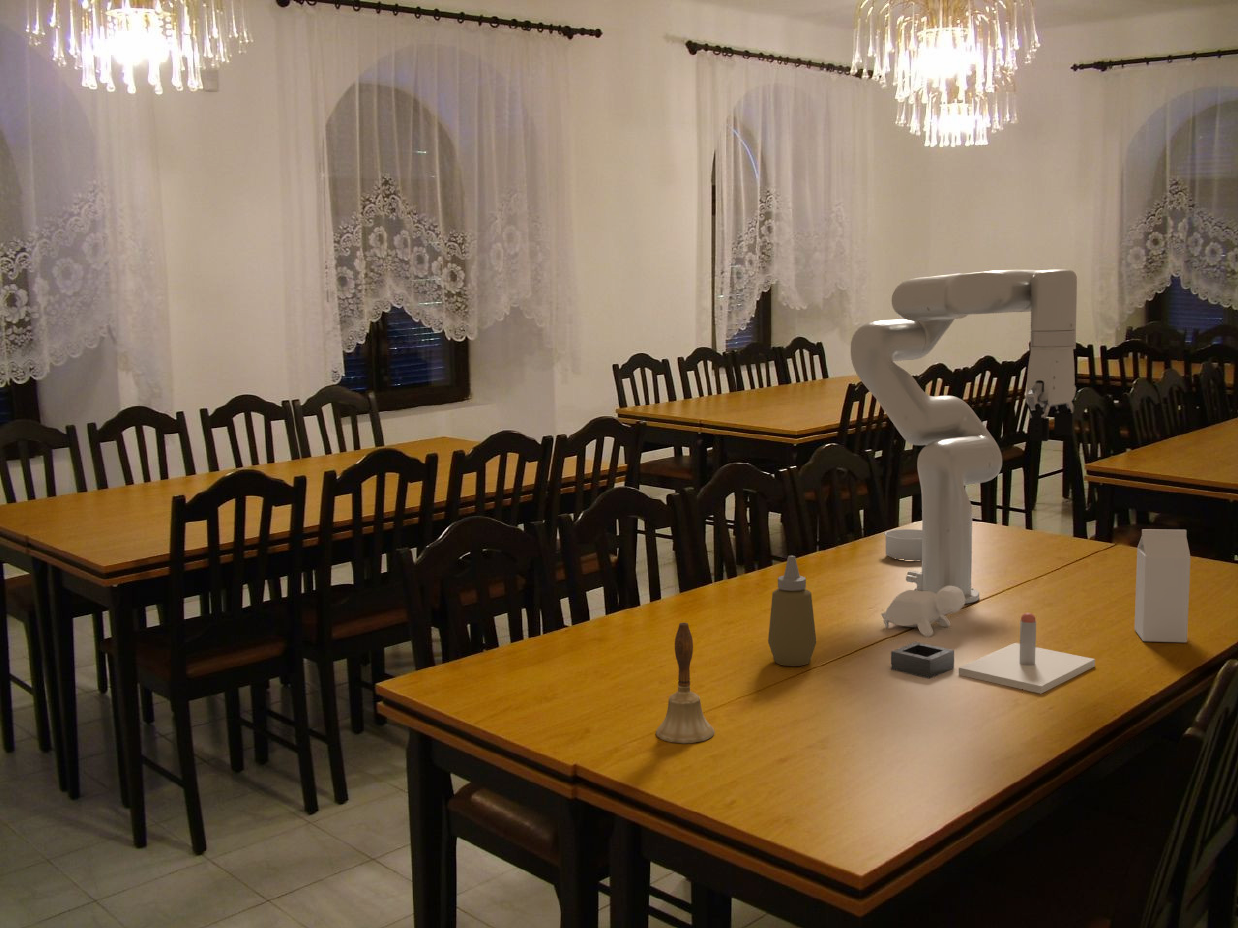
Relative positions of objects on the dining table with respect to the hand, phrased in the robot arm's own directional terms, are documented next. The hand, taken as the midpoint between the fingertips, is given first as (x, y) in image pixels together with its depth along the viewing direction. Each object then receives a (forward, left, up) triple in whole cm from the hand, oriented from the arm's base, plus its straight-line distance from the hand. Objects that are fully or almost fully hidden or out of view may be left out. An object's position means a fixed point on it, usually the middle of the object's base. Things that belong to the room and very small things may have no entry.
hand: (1051, 437), depth 219 cm
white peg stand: (+10, -27, -34) cm, 45 cm away
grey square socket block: (-3, -37, -34) cm, 50 cm away
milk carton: (+18, +5, -34) cm, 39 cm away
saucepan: (-45, +31, -35) cm, 65 cm away
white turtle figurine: (-15, -17, -35) cm, 41 cm away
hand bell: (-12, -84, -34) cm, 91 cm away
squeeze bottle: (-21, -48, -34) cm, 62 cm away
